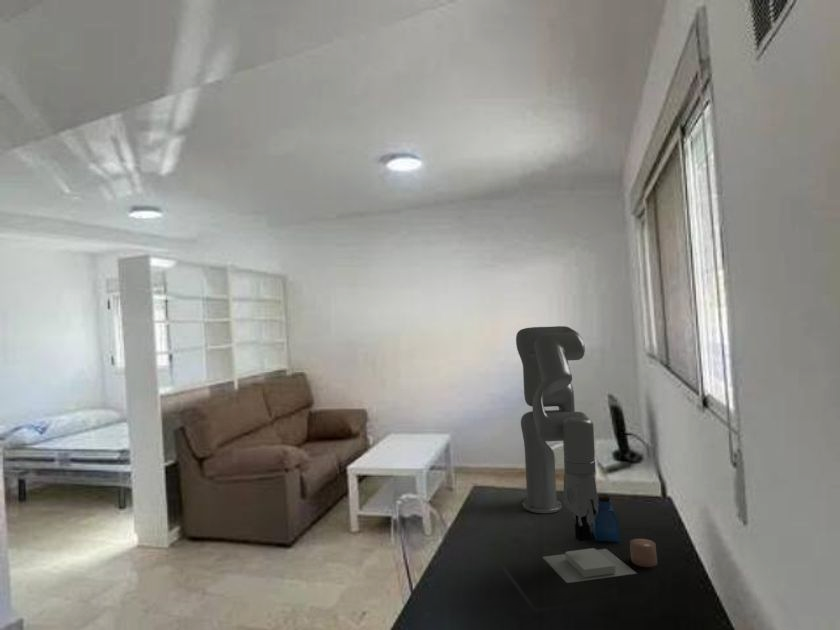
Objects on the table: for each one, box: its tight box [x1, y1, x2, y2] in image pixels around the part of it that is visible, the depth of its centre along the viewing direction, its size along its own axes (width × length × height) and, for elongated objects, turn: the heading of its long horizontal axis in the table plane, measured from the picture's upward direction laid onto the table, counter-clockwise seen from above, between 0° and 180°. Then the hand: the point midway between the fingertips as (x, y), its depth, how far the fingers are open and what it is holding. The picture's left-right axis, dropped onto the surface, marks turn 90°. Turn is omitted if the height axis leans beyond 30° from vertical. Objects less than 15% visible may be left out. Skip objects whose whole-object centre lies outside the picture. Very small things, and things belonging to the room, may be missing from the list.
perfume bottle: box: [592, 493, 620, 543], centre depth 147 cm, size 6×6×12 cm
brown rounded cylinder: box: [629, 538, 658, 568], centre depth 131 cm, size 6×6×5 cm
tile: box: [564, 547, 616, 577], centre depth 130 cm, size 2×8×10 cm
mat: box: [542, 548, 638, 584], centre depth 130 cm, size 14×18×1 cm
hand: (582, 539), depth 133 cm, fingers closed
